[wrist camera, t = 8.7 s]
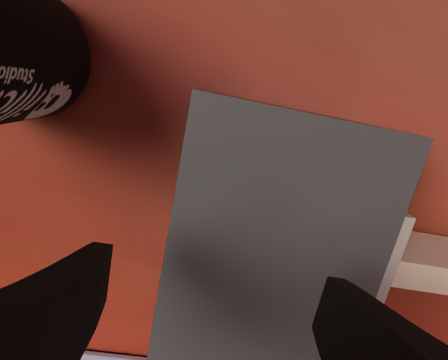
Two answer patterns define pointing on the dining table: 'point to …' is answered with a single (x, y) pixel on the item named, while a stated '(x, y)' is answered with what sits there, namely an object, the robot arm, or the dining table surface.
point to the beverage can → (40, 59)
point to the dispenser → (277, 226)
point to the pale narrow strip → (424, 264)
